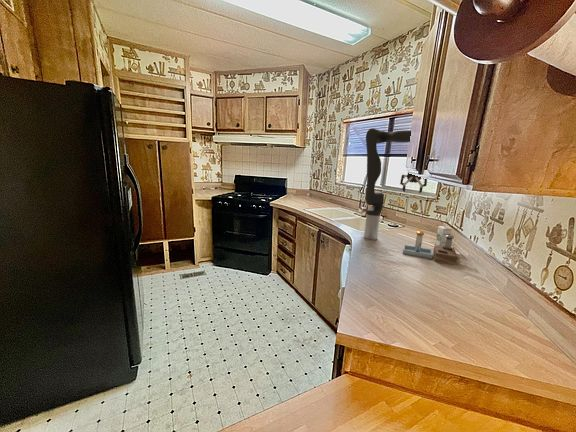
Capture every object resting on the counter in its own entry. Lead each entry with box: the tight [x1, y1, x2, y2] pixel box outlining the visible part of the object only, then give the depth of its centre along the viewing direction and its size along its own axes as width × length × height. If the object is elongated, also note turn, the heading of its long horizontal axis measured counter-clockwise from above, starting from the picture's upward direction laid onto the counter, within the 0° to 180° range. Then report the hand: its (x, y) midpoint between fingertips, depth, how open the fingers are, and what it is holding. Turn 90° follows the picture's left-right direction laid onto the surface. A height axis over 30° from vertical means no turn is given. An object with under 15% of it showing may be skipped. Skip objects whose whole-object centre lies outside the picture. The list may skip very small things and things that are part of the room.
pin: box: [444, 234, 455, 250], centre depth 144 cm, size 4×4×13 cm
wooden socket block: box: [432, 244, 458, 266], centre depth 142 cm, size 16×10×5 cm, turn 153°
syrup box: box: [434, 225, 453, 246], centre depth 158 cm, size 6×6×14 cm
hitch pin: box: [414, 230, 425, 252], centre depth 147 cm, size 4×4×13 cm
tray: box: [402, 244, 434, 260], centre depth 149 cm, size 10×15×2 cm
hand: (411, 192), depth 149 cm, fingers open, 8 cm apart
